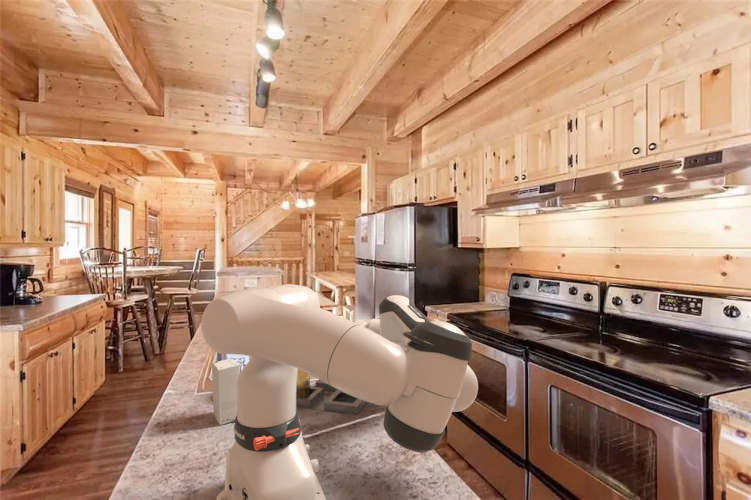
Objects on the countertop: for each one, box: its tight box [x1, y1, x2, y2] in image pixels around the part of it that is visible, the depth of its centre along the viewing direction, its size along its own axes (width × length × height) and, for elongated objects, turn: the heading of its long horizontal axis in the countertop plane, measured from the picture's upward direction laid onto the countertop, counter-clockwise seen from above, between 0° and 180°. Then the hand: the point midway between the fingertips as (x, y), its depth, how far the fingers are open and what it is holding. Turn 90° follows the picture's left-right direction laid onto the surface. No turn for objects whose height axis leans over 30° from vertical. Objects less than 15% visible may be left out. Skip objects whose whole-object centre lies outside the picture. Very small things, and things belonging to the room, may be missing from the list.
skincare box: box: [211, 358, 240, 426], centre depth 103 cm, size 8×6×15 cm
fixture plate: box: [296, 385, 368, 416], centre depth 111 cm, size 24×11×3 cm, turn 74°
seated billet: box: [296, 369, 311, 398], centre depth 112 cm, size 4×4×12 cm
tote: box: [315, 379, 338, 392], centre depth 123 cm, size 9×9×3 cm
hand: (334, 330), depth 119 cm, fingers closed on billet, 4 cm apart
